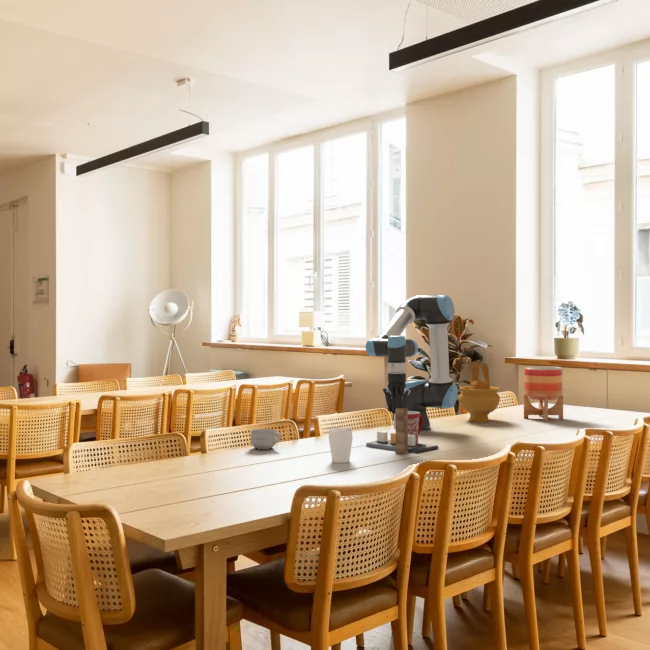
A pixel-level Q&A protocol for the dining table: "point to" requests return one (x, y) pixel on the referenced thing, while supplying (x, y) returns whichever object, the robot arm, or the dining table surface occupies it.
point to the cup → (340, 444)
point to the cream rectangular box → (411, 440)
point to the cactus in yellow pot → (479, 395)
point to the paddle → (382, 436)
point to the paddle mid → (393, 438)
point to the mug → (414, 424)
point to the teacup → (264, 438)
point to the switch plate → (392, 445)
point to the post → (401, 430)
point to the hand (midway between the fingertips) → (397, 428)
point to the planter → (543, 390)
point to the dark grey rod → (426, 449)
